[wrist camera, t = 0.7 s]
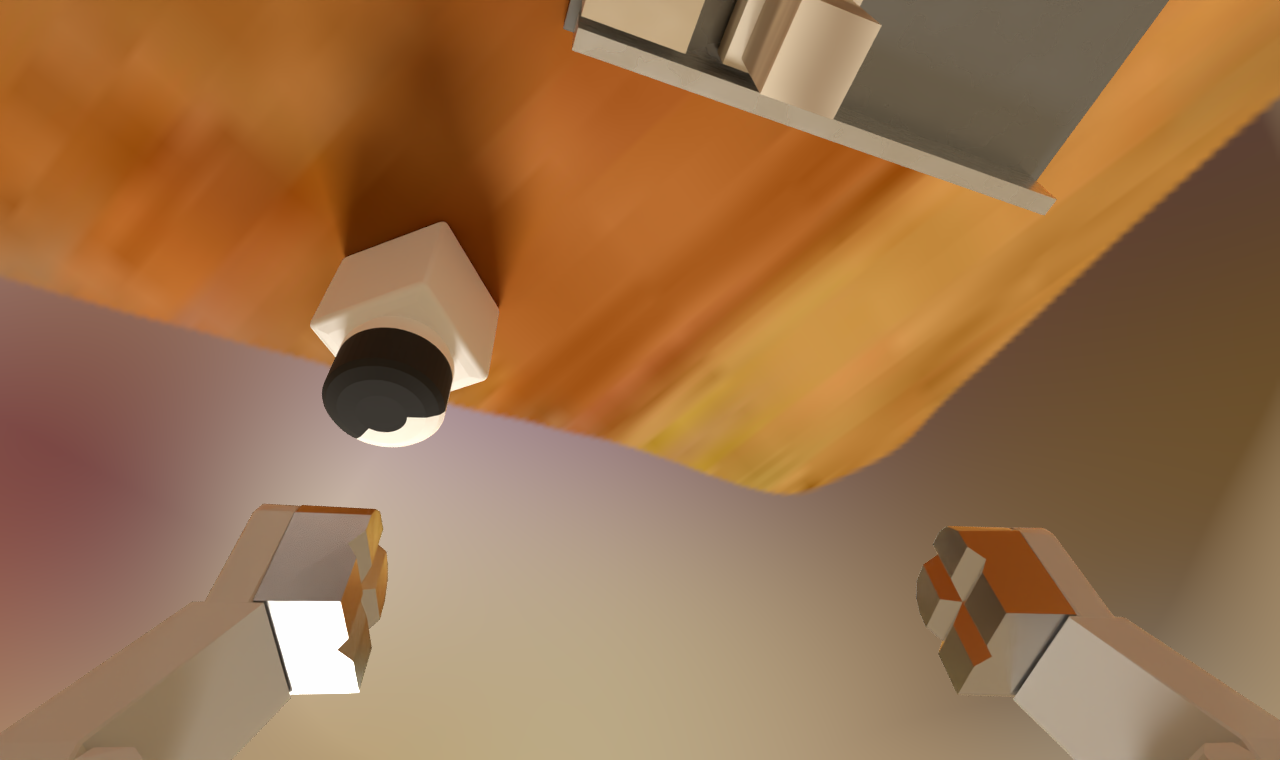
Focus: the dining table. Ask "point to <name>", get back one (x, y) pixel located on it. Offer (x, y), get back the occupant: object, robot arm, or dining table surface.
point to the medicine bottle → (404, 336)
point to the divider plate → (910, 77)
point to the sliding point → (800, 49)
